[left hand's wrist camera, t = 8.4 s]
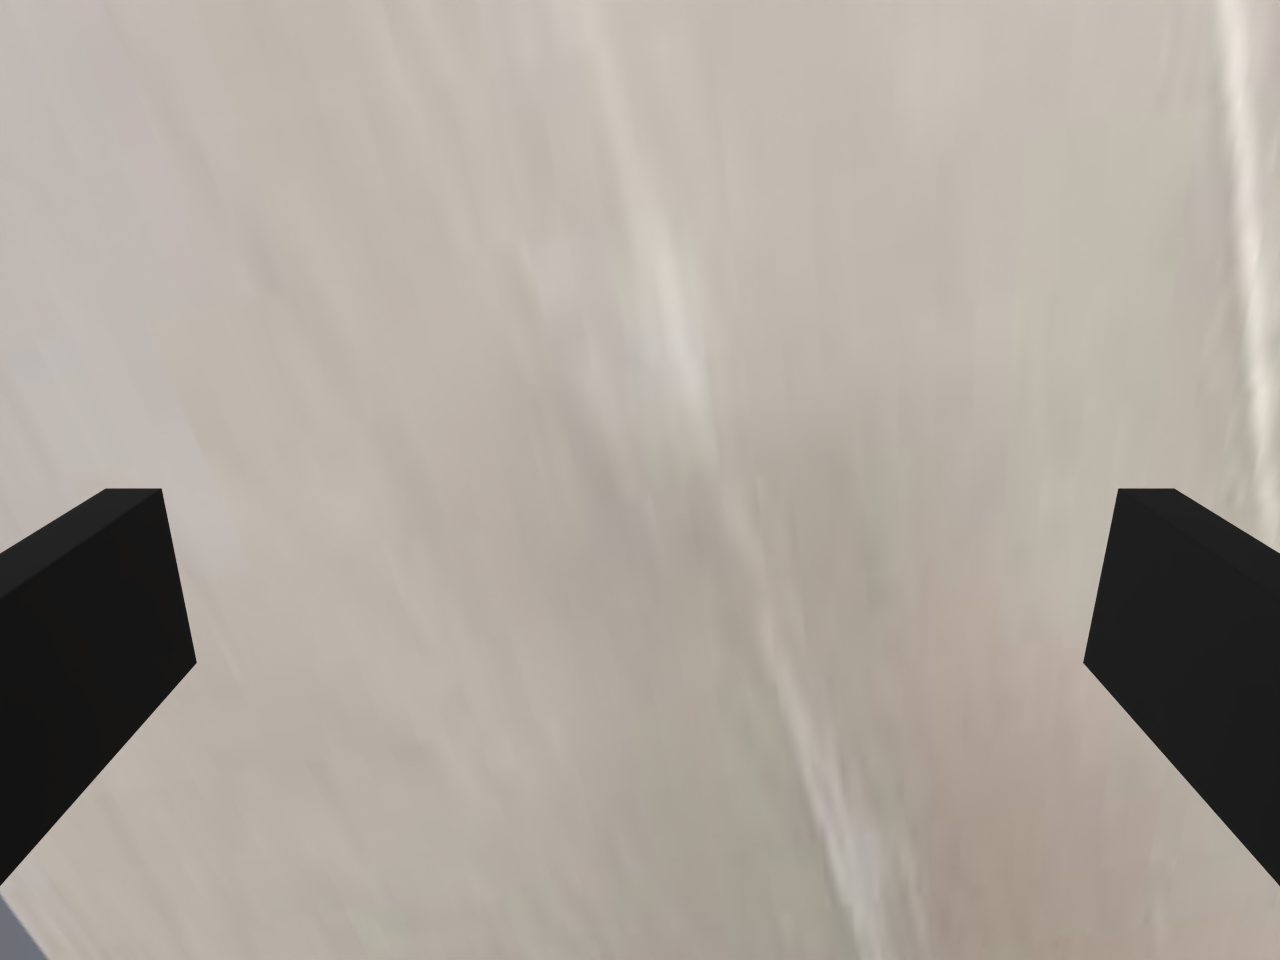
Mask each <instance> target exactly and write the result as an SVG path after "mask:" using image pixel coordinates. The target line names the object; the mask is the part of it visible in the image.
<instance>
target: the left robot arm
mask: <svg viewBox="0 0 1280 960" xmlns="http://www.w3.org/2000/svg"><path fill="white" fill-rule="evenodd" d="M196 663H197V662H196V657H195V652H194V647H193V642H192V637H191V632H190V627H189V622H188V617H187V612H186V607H185V602H184V597H183V592H182V587H181V582H180V577H179V572H178V567H177V562H176V558H175V553H174V548H173V543H172V538H171V533H170V528H169V523H168V518H167V513H166V508H165V503H164V498H163V493H162V489H104V490H103V491H101V492H99V493H98V494H96V495H95V496H93V497H91V498H90V499H88V500H86V501H85V502H83V503H82V504H80V505H78V506H77V507H75V508H73V509H72V510H70V511H69V512H67V513H65V514H64V515H62V516H60V517H59V518H57V519H56V520H54V521H52V522H51V523H49V524H47V525H46V526H44V527H43V528H41V529H39V530H38V531H36V532H34V533H33V534H31V535H30V536H28V537H26V538H25V539H23V540H21V541H20V542H18V543H17V544H15V545H13V546H12V547H10V548H8V549H7V550H5V551H4V552H2V553H0V886H1V884H2V883H3V882H4V881H5V880H6V879H7V878H8V876H9V875H10V874H11V873H12V872H13V871H14V870H15V869H16V867H17V866H18V865H19V864H20V863H21V862H22V861H23V859H24V858H25V857H26V856H27V855H28V854H29V853H30V851H31V850H32V849H33V848H34V847H35V846H36V845H37V844H38V842H39V841H40V840H41V839H42V838H43V837H44V836H45V834H46V833H47V832H48V831H49V830H50V829H51V828H52V827H53V825H54V824H55V823H56V822H57V821H58V820H59V819H60V817H61V816H62V815H63V814H64V813H65V812H66V811H67V809H68V808H69V807H70V806H71V805H72V804H73V803H74V802H75V800H76V799H77V798H78V797H79V796H80V795H81V794H82V792H83V791H84V790H85V789H86V788H87V787H88V786H89V785H90V783H91V782H92V781H93V780H94V779H95V778H96V777H97V775H98V774H99V773H100V772H101V771H102V770H103V769H104V767H105V766H106V765H107V764H108V763H109V762H110V761H111V760H112V758H113V757H114V756H115V755H116V754H117V753H118V752H119V750H120V749H121V748H122V747H123V746H124V745H125V744H126V743H127V741H128V740H129V739H130V738H131V737H132V736H133V735H134V733H135V732H136V731H137V730H138V729H139V728H140V727H141V725H142V724H143V723H144V722H145V721H146V720H147V719H148V718H149V716H150V715H151V714H152V713H153V712H154V711H155V710H156V708H157V707H158V706H159V705H160V704H161V703H162V702H163V700H164V699H165V698H166V697H167V696H168V695H169V694H170V693H171V691H172V690H173V689H174V688H175V687H176V686H177V685H178V683H179V682H180V681H181V680H182V679H183V678H184V677H185V676H186V674H187V673H188V672H189V671H190V670H191V669H192V668H193V666H194V665H195V664H196ZM1083 663H1084V664H1085V665H1086V666H1087V668H1088V669H1089V670H1090V671H1091V672H1092V673H1093V674H1094V676H1095V677H1096V678H1097V679H1098V680H1099V681H1100V682H1101V683H1102V685H1103V686H1104V687H1105V688H1106V689H1107V690H1108V691H1109V693H1110V694H1111V695H1112V696H1113V697H1114V698H1115V699H1116V700H1117V702H1118V703H1119V704H1120V705H1121V706H1122V707H1123V708H1124V710H1125V711H1126V712H1127V713H1128V714H1129V715H1130V716H1131V718H1132V719H1133V720H1134V721H1135V722H1136V723H1137V724H1138V725H1139V727H1140V728H1141V729H1142V730H1143V731H1144V732H1145V733H1146V735H1147V736H1148V737H1149V738H1150V739H1151V740H1152V741H1153V743H1154V744H1155V745H1156V746H1157V747H1158V748H1159V749H1160V750H1161V752H1162V753H1163V754H1164V755H1165V756H1166V757H1167V758H1168V760H1169V761H1170V762H1171V763H1172V764H1173V765H1174V766H1175V767H1176V769H1177V770H1178V771H1179V772H1180V773H1181V774H1182V775H1183V777H1184V778H1185V779H1186V780H1187V781H1188V782H1189V783H1190V785H1191V786H1192V787H1193V788H1194V789H1195V790H1196V791H1197V792H1198V794H1199V795H1200V796H1201V797H1202V798H1203V799H1204V800H1205V802H1206V803H1207V804H1208V805H1209V806H1210V807H1211V808H1212V809H1213V811H1214V812H1215V813H1216V814H1217V815H1218V816H1219V817H1220V819H1221V820H1222V821H1223V822H1224V823H1225V824H1226V825H1227V827H1228V828H1229V829H1230V830H1231V831H1232V832H1233V833H1234V834H1235V836H1236V837H1237V838H1238V839H1239V840H1240V841H1241V842H1242V844H1243V845H1244V846H1245V847H1246V848H1247V849H1248V850H1249V851H1250V853H1251V854H1252V855H1253V856H1254V857H1255V858H1256V859H1257V861H1258V862H1259V863H1260V864H1261V865H1262V866H1263V867H1264V869H1265V870H1266V871H1267V872H1268V873H1269V874H1270V875H1271V876H1272V878H1273V879H1274V880H1275V881H1276V882H1277V883H1278V884H1279V886H1280V553H1278V552H1276V551H1275V550H1273V549H1272V548H1270V547H1268V546H1267V545H1265V544H1263V543H1262V542H1260V541H1259V540H1257V539H1255V538H1254V537H1252V536H1250V535H1249V534H1247V533H1246V532H1244V531H1242V530H1241V529H1239V528H1237V527H1236V526H1234V525H1233V524H1231V523H1229V522H1228V521H1226V520H1224V519H1223V518H1221V517H1220V516H1218V515H1216V514H1215V513H1213V512H1211V511H1210V510H1208V509H1207V508H1205V507H1203V506H1202V505H1200V504H1198V503H1197V502H1195V501H1194V500H1192V499H1190V498H1189V497H1187V496H1185V495H1184V494H1182V493H1181V492H1179V491H1177V490H1176V489H1118V493H1117V498H1116V503H1115V508H1114V513H1113V518H1112V523H1111V528H1110V533H1109V538H1108V543H1107V548H1106V553H1105V558H1104V562H1103V567H1102V572H1101V577H1100V582H1099V587H1098V592H1097V597H1096V602H1095V607H1094V612H1093V617H1092V622H1091V627H1090V632H1089V637H1088V642H1087V647H1086V652H1085V657H1084V662H1083Z"/></svg>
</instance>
